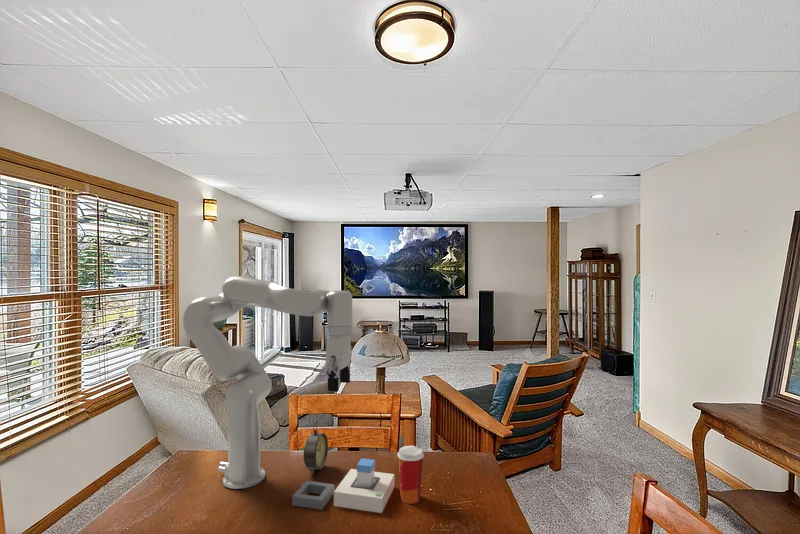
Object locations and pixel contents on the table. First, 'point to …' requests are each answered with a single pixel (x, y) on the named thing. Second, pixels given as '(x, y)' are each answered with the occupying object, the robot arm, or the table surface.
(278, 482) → the table surface
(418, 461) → the paper cup
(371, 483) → the plug
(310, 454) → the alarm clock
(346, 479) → the port panel
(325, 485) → the grey square frame
